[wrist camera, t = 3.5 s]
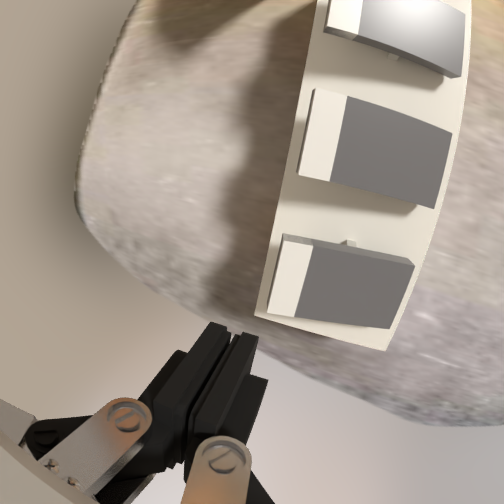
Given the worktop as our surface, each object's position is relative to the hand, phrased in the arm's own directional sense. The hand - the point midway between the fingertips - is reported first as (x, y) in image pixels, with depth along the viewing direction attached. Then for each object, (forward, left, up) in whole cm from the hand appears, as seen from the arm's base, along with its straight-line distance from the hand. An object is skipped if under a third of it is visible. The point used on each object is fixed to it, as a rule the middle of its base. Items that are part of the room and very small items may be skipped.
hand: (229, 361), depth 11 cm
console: (-4, -8, -17) cm, 19 cm away
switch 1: (-4, -16, -9) cm, 19 cm away
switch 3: (-4, 0, -9) cm, 10 cm away
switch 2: (-4, -8, -9) cm, 13 cm away
